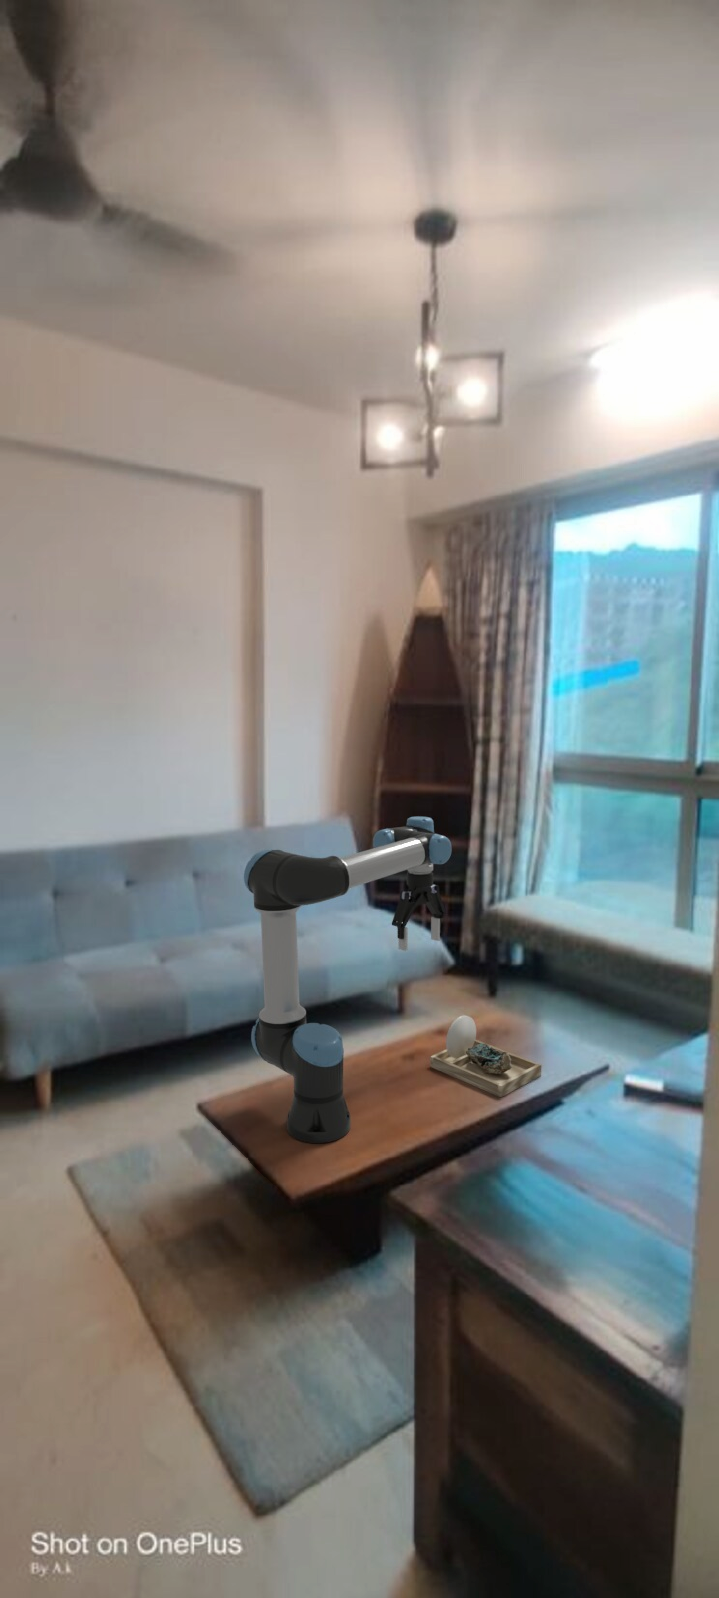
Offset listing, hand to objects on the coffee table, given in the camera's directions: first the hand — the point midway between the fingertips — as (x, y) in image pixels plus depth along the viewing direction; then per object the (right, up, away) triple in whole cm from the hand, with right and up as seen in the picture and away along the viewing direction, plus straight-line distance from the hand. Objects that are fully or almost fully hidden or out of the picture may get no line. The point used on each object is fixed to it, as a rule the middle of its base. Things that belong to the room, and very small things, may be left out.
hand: (419, 944), depth 225 cm
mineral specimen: (+19, -32, -10) cm, 39 cm away
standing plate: (+11, -32, -3) cm, 34 cm away
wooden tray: (+17, -33, -9) cm, 38 cm away
